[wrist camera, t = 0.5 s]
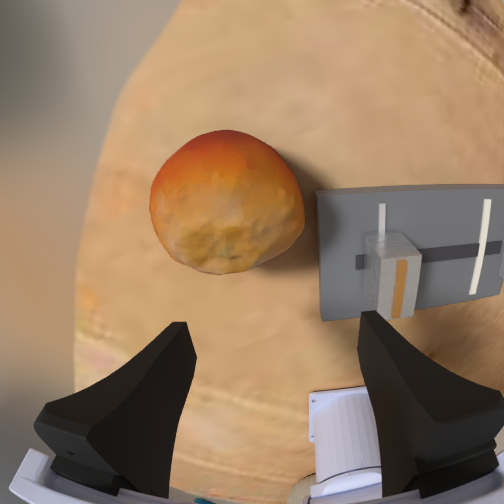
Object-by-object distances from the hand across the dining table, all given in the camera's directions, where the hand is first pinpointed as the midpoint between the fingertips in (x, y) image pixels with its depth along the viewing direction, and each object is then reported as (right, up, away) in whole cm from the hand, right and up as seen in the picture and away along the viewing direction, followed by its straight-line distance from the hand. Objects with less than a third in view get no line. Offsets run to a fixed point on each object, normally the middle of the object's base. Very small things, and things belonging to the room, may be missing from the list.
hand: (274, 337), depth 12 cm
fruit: (-2, +7, +7) cm, 11 cm away
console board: (+11, +4, +8) cm, 14 cm away
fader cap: (+7, +3, +6) cm, 10 cm away
